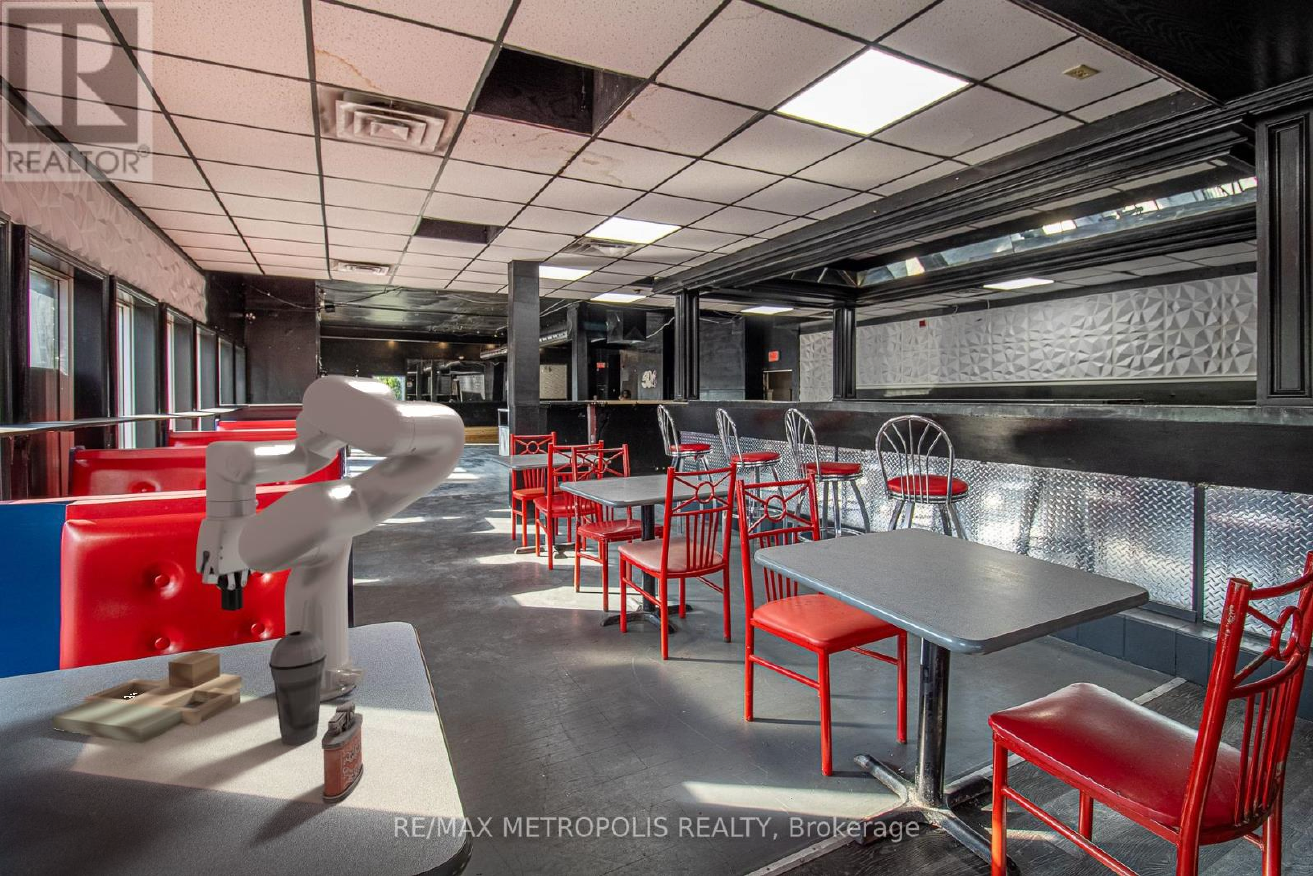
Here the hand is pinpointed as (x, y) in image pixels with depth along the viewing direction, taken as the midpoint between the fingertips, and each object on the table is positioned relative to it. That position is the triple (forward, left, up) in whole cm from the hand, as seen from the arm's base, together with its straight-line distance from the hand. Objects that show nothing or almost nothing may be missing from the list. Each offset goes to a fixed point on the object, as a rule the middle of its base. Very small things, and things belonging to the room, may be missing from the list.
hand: (232, 609), depth 117 cm
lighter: (-45, +26, -12) cm, 54 cm away
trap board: (-1, +14, -12) cm, 18 cm away
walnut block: (-1, +8, -10) cm, 13 cm away
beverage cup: (-30, +17, -12) cm, 37 cm away
